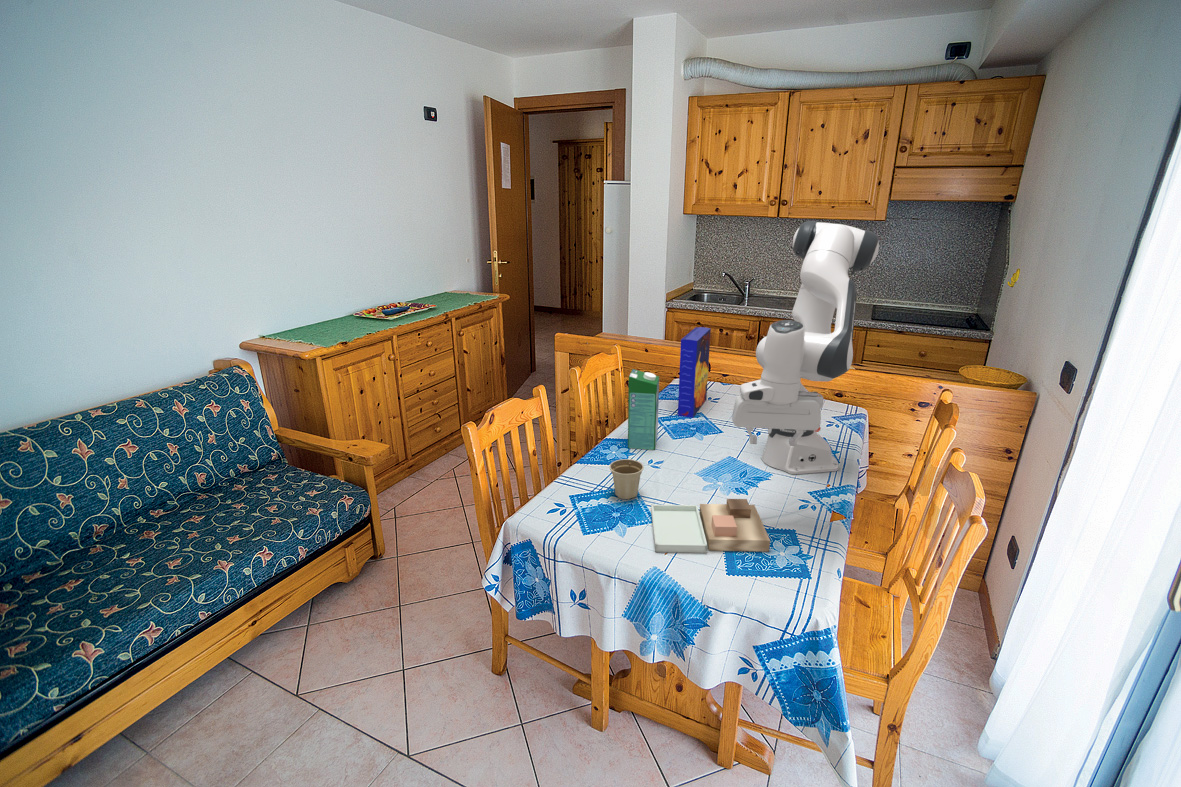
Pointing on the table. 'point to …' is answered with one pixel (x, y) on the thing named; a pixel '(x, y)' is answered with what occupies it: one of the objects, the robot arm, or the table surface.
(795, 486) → the table surface
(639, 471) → the flower pot
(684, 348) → the cereal box
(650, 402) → the milk carton
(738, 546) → the board
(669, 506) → the tray
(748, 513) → the walnut tile
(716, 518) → the terracotta tile
